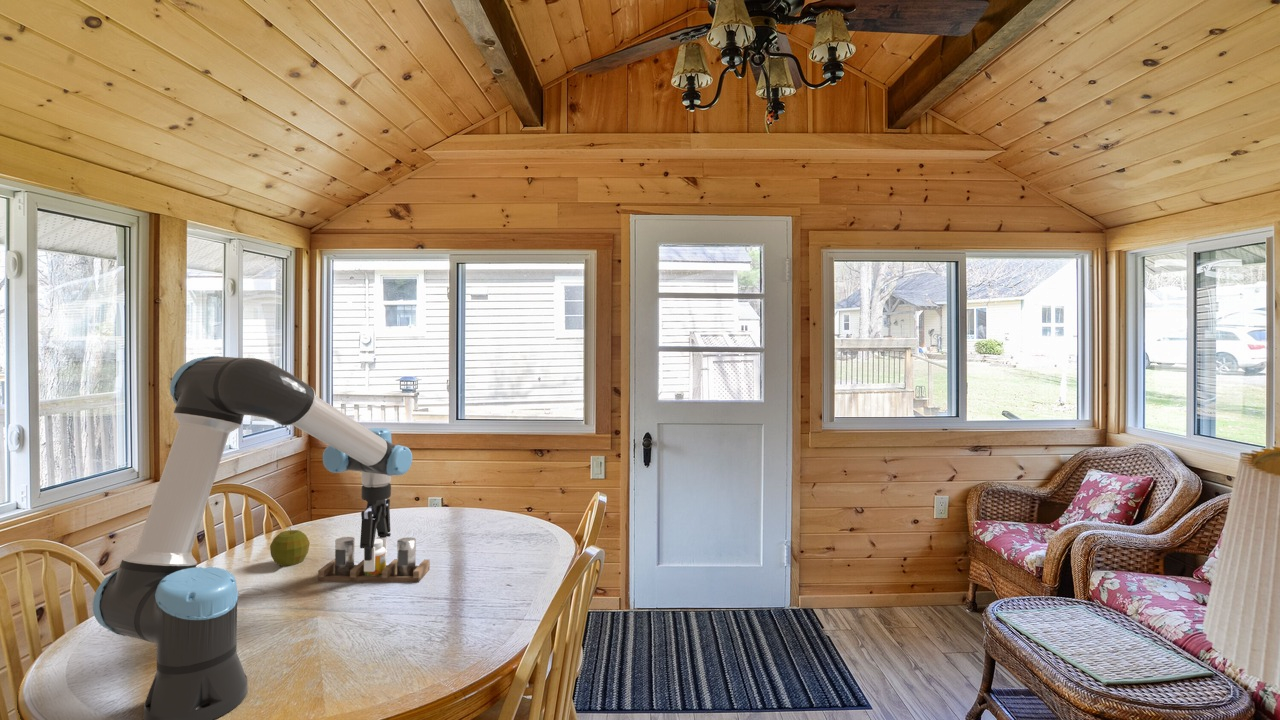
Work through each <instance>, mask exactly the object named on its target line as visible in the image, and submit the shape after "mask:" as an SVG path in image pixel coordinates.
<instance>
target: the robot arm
mask: <svg viewBox="0 0 1280 720" xmlns="http://www.w3.org/2000/svg"><path fill="white" fill-rule="evenodd" d="M169 393H170V396H172V400H173V402H174V403H175V408H174V411H173V413H172V416H173V418H175V421H176V422H177V423H178V426H177V427H178V428H177V430H176V433H175V436H174V438H173V442H172V445H171V448H170V450H169V454H168V456H167V459H166V462H165V465H164V468H163V471H162V474H161V477H160V479H159V483H158V485H157V488H156V491H155V494H154V497H153V500H152V502H151V505H150V508H149V511H148V514H147V517H146V519H145V522H144V525H143V528H142V531H141V534H140V537H139V539H138V543H137V546H136V548H135V549H134V550H133V551H131V552H129V553H128V554H126V555H124V556H123V557H122V559H121V562H120V565H119V567H118V569H116V570H114V571H113V572H112V573H110V575H109V576H107V577H105V578H104V579H103V580H102V581H101V583H99V586H98V587H97V588H96V590H95V594H94V596H93V600H92V613H93V617H94V618H95V620H96V621H97V623H98V624H99V625H100V626H102V627H103V628H104V629H106V630H108V631H110V632H112V633H113V634H116V635H119V636H122V637H130V638H135V639H138V640H141V641H145V642H150V643H154V644H155V645H156V670H155V675H154V678H153V680H152V683H151V686H150V688H149V690H148V694H147V696H146V699H145V701H144V704H143V709H142V710H143V718H142V719H143V720H216V719H218V718H219V717H222V716H224V715H226V714H228V713H229V712H231V711H232V710H234V709H235V708H236V707H238V706H239V705H240V704H241V703H242V702H243V701H244V700H245V699H246V697H247V695H248V688H249V687H248V685H249V683H248V681H249V680H248V676H247V675H246V673H245V670H244V668H243V665H242V663H241V660H240V658H239V655H238V652H237V650H238V649H237V647H238V646H237V642H238V641H237V638H238V637H237V636H238V635H237V633H238V632H237V629H238V626H237V625H238V599H239V592H238V586H237V579H236V577H235V576H234V574H233V573H231V572H230V571H229V570H226V569H225V568H220V567H216V566H215V567H214V566H207V567H202V566H197V564H198V560H196V559H195V557H194V556H193V554H192V550H193V548H194V545H195V542H196V541H195V540H196V539H197V535H198V531H199V528H200V526H201V522H202V520H203V516H204V513H205V511H206V507H207V504H208V501H209V498H210V495H211V491H212V490H213V485H214V481H215V479H216V475H217V473H218V469H219V466H220V463H221V461H222V457H223V454H224V450H225V447H226V444H227V442H228V439H229V435H230V434H231V432H232V433H233V432H234V431H235V430H237V429H239V428H241V425H242V422H243V419H244V417H245V416H253V417H260V418H262V419H263V418H264V419H268V420H271V421H274V422H275V423H277V424H279V425H281V426H287V427H288V426H294V427H295V428H297V429H298V430H300V431H303V432H304V433H306V434H308V435H310V436H311V437H314V439H316V440H319V441H320V442H323V443H324V444H327V446H326V447H325V449H324V450H323V453H322V463H323V466H324V468H325V469H326V470H327V471H329V472H330V473H332V474H337V473H345V472H348V471H349V472H359V473H360V472H361V477H360V478H361V482H360V483H361V484H362V486H361V493H360V494H361V495H360V496H361V499H362V500H363V501H366V508H365V510H362V511H361V515H360V516H361V525H360V528H361V529H360V542H359V548H360V549H363V560H364V572H374V571H375V547H374V541H375V539H382V540H383V546H382V547H384V548H385V549H386V561H387V560H388V559H387V558H388V552H387V551H388V538H390V537H391V535H392V534H391V515H390V514H391V512H390V509H391V508H390V505H391V500H390V497H391V496H392V484H390V483H391V482H392V476H403V475H405V474H406V473H407V472H408V471H409V470H410V469H411V465H412V463H413V454H412V451H411V449H410V448H409V447H408V446H404V445H401V444H393V442H392V441H393V440H392V432H391V429H389V428H385V427H372V428H371V427H370V428H367V427H365V426H364V425H362V424H361V423H359V422H358V421H356V420H354V419H353V418H351V417H350V416H348V415H347V414H345V413H344V412H342V411H341V410H339V409H338V408H336V407H335V406H333V405H331V404H329V403H328V402H327V401H325V400H323V399H322V398H320V397H319V396H317V395H316V391H315V390H314V388H313V386H311V385H310V384H308V383H306V382H305V381H303V380H301V379H300V378H298V377H297V376H295V375H293V374H292V373H290V372H289V371H287V370H284V369H283V368H281V367H280V366H277V365H276V364H274V363H271V362H269V361H266V360H265V359H264V360H263V359H260V358H255V357H233V356H219V355H212V356H210V355H209V356H206V357H205V356H204V357H203V356H202V357H198V358H195V359H193V358H192V359H191V360H189V361H187V362H185V363H184V364H183V365H181V366H179V368H178V369H177V370H176V371H175V373H174V374H173V376H172V378H171V380H170V385H169ZM376 534H377V537H376Z"/></svg>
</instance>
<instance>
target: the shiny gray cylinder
mask: <svg viewBox="0 0 1280 720" xmlns="http://www.w3.org/2000/svg"><path fill="white" fill-rule="evenodd" d="M334 559H335V576H350V570H352V569H353V568H354V565H355V537H353V536H343V537H339V538H336V539H335V545H334Z"/></svg>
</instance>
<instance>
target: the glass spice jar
mask: <svg viewBox="0 0 1280 720" xmlns="http://www.w3.org/2000/svg"><path fill="white" fill-rule="evenodd" d="M416 542H417V540H416V538H415V537H403V538H399V539H397V541H396V543H397V544H396V545H397V547H396V548H397V551H396V559H397V576H413V571H414V570H415V566H417V564H416V563H417V562H416V559H417V557H416V555H417V553H416V551H417V549H416V547H417V545H416V544H417V543H416Z"/></svg>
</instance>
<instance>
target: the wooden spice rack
mask: <svg viewBox="0 0 1280 720" xmlns="http://www.w3.org/2000/svg"><path fill="white" fill-rule="evenodd" d="M430 562H431V561H430V559H429V558H428V559H423V560H422V561H421V562H420V564H419V565H416V566H415V570H414V571H413V576H397V558H394V559H393V560H392V561H391V562H390V563H389V564H386V568H384V569H383V570H382V576H365V572H364V559H362V560H361V561H360V562H359V563H358V564H354V568H353V569H352V570H350V576H335V558H333V559H331V561H329V562H328V563H326V564H325V565H324V566H322V567H321V568H320V569H318V570H317V575H318V578H317V581H318V583H321V582H322V583H323V582H324V583H326V582H327V583H329V582H330V583H333V582H334V583H346V582H347V583H420V582H421V581H422V579H423V578H424V577H425V576H426V575H427V574H428V573H429V572H430V570H431V569H430Z"/></svg>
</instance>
